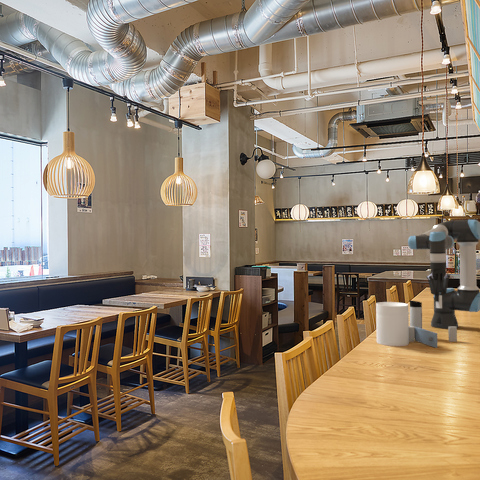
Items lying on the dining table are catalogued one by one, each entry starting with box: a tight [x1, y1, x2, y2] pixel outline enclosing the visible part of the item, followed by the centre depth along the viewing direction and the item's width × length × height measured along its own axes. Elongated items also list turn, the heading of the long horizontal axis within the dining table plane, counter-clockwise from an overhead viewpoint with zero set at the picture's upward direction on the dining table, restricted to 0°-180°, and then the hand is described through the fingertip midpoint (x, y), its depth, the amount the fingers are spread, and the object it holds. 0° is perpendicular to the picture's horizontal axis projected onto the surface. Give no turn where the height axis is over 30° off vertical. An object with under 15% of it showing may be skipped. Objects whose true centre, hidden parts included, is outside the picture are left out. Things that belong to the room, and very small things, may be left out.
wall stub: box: [447, 327, 458, 343], centre depth 232 cm, size 4×2×8 cm, turn 85°
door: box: [414, 326, 438, 348], centre depth 226 cm, size 17×3×7 cm, turn 13°
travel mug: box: [408, 300, 423, 329], centre depth 243 cm, size 6×7×20 cm
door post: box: [409, 325, 415, 343], centre depth 234 cm, size 3×3×8 cm
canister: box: [375, 301, 410, 347], centre depth 231 cm, size 16×16×20 cm
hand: (438, 307), depth 227 cm, fingers closed
